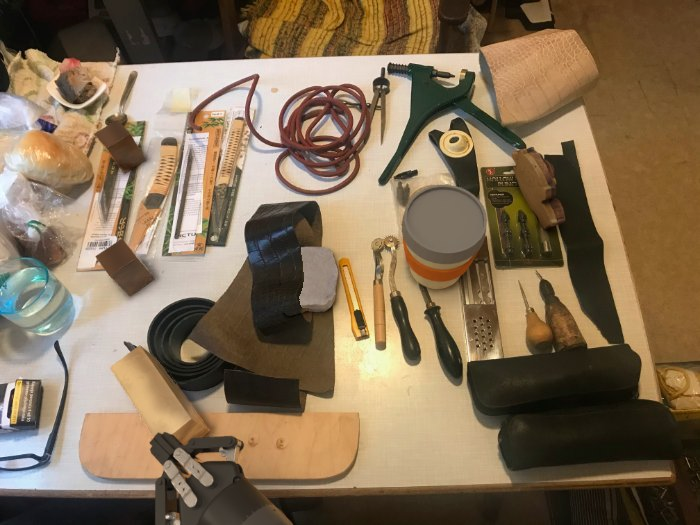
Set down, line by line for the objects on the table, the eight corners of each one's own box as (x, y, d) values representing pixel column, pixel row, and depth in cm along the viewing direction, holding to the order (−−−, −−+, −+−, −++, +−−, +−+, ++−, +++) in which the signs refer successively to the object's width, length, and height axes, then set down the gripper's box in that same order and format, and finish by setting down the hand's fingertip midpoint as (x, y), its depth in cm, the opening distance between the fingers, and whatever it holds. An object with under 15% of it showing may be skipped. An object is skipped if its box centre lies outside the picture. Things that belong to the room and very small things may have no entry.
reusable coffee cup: (394, 238, 91) (396, 187, 78) (464, 231, 91) (479, 178, 78) (404, 303, 85) (408, 259, 72) (479, 295, 85) (497, 250, 71)
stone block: (332, 255, 92) (276, 256, 90) (336, 242, 88) (277, 243, 86) (339, 317, 86) (279, 319, 85) (343, 306, 82) (280, 308, 80)
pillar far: (125, 175, 101) (106, 148, 94) (113, 161, 103) (94, 133, 96) (147, 161, 102) (130, 133, 95) (135, 147, 104) (117, 119, 97)
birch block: (182, 455, 75) (159, 444, 67) (135, 384, 80) (109, 367, 73) (211, 431, 76) (191, 418, 68) (163, 363, 82) (139, 344, 74)
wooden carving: (567, 232, 90) (587, 198, 81) (543, 240, 89) (561, 207, 80) (520, 163, 97) (534, 126, 88) (498, 171, 97) (510, 134, 88)
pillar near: (131, 297, 88) (109, 276, 81) (117, 278, 90) (94, 256, 83) (156, 279, 89) (136, 257, 82) (141, 261, 91) (122, 238, 84)
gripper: (279, 477, 52) (178, 384, 60) (188, 599, 48) (95, 481, 57) (304, 488, 58) (209, 402, 67) (225, 597, 54) (136, 491, 63)
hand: (157, 439), depth 62 cm, fingers closed
